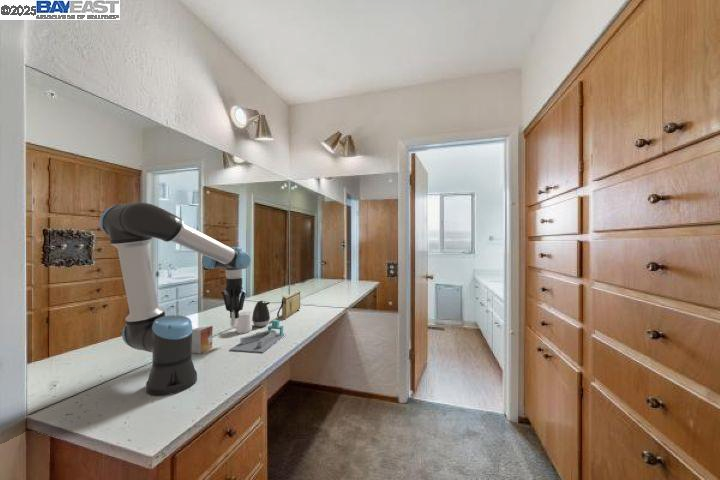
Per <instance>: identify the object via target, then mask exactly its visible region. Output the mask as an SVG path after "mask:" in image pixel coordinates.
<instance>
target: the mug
mask: <svg viewBox="0 0 720 480" xmlns="http://www.w3.org/2000/svg"><path fill="white" fill-rule="evenodd" d="M252 316H253V312H252V311H241V312H240V311H239V318H237V324H236V325H234V326H233V325H232V318H230V321H229V322H230V326H231V327H232V328H233V329H235V330H236V331H235V332H236V333H238V334H247V333H250V332H251V331H252V329H253V321H252Z"/></svg>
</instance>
